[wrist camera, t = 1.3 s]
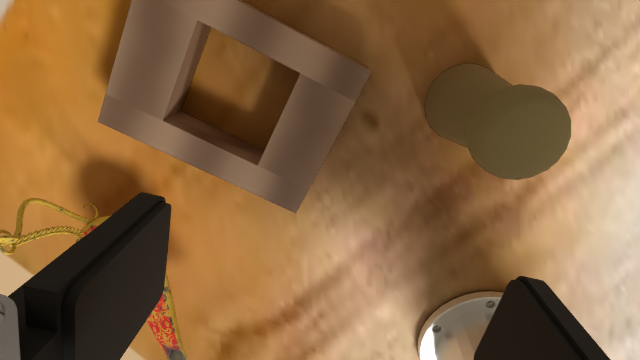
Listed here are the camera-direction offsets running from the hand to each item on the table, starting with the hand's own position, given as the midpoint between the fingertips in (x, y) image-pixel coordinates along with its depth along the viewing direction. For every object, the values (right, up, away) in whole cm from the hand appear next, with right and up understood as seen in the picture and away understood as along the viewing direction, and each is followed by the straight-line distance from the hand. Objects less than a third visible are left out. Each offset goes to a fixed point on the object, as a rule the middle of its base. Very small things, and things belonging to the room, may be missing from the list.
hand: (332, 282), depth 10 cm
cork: (+11, +9, +20) cm, 24 cm away
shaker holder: (-7, +10, +20) cm, 23 cm away
